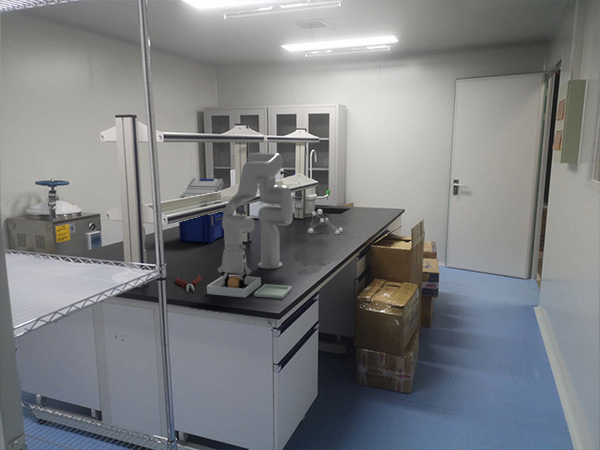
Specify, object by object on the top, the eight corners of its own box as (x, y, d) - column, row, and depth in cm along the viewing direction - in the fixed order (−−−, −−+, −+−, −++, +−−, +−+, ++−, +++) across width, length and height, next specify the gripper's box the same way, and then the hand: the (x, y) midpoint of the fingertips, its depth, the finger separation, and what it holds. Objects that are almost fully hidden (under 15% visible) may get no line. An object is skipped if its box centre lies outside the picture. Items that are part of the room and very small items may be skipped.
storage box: (209, 244, 285) (207, 181, 278) (177, 243, 291) (173, 180, 284) (228, 235, 313) (227, 178, 306) (198, 234, 319) (196, 177, 311)
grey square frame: (225, 281, 209) (225, 274, 208) (260, 284, 204) (260, 277, 203) (207, 293, 192) (206, 285, 192) (245, 297, 187) (245, 289, 187)
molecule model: (307, 234, 327) (308, 209, 328) (342, 235, 326) (343, 211, 328) (307, 232, 312) (309, 207, 314) (344, 234, 312) (344, 208, 314)
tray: (264, 287, 201) (264, 283, 200) (291, 289, 197) (291, 286, 197) (254, 296, 189) (254, 292, 189) (282, 299, 185) (282, 295, 185)
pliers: (176, 295, 192) (176, 289, 192) (175, 281, 211) (175, 276, 211) (204, 292, 195) (204, 286, 195) (200, 279, 214) (200, 274, 214)
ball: (231, 286, 202) (231, 273, 201) (243, 287, 200) (243, 274, 199) (225, 290, 196) (225, 277, 195) (238, 292, 194) (237, 278, 193)
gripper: (255, 246, 196) (256, 286, 199) (219, 244, 201) (220, 283, 204) (248, 250, 189) (249, 291, 192) (211, 247, 193) (212, 288, 197)
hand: (234, 286), depth 198 cm, fingers closed on ball, 5 cm apart
